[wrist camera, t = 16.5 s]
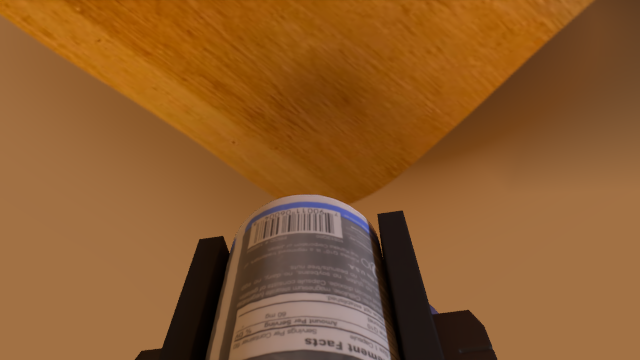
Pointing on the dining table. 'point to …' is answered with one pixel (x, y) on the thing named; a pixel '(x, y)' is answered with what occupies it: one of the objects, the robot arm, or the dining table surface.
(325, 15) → the dining table surface
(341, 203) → the pill bottle
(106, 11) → the dining table surface
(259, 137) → the dining table surface
